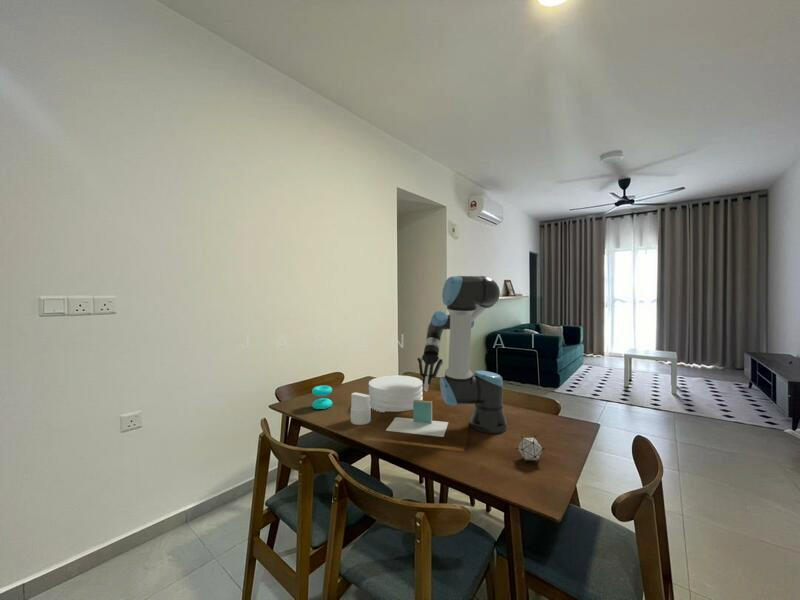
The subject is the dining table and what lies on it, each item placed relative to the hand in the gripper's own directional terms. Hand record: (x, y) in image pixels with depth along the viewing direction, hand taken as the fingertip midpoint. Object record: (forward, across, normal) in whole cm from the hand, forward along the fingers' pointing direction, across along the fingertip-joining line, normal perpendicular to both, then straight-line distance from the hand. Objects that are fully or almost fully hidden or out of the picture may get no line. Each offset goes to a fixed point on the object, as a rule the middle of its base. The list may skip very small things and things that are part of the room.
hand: (425, 389), depth 155 cm
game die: (+31, -43, +14) cm, 54 cm away
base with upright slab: (+18, +27, +1) cm, 33 cm away
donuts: (+10, +53, -8) cm, 55 cm away
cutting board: (+19, 0, +2) cm, 20 cm away
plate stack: (0, +18, -18) cm, 26 cm away
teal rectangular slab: (+15, -1, -1) cm, 15 cm away
